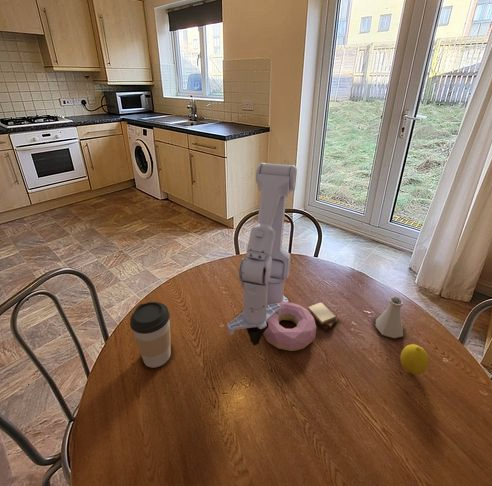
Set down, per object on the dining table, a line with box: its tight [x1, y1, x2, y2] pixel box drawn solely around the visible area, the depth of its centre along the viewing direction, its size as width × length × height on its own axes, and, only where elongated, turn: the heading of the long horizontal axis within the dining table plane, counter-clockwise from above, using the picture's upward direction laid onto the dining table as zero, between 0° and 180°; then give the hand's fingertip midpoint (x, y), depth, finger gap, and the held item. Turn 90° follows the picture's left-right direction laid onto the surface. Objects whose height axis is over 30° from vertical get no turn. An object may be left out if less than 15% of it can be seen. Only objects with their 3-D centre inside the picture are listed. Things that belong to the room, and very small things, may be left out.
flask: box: [375, 296, 404, 339], centre depth 80 cm, size 7×7×10 cm
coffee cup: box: [129, 301, 172, 369], centre depth 71 cm, size 9×9×15 cm
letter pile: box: [307, 301, 338, 331], centre depth 84 cm, size 8×7×2 cm
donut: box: [262, 301, 317, 352], centre depth 80 cm, size 16×15×5 cm
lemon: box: [400, 343, 429, 376], centre depth 68 cm, size 6×6×8 cm
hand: (254, 342), depth 75 cm, fingers closed
